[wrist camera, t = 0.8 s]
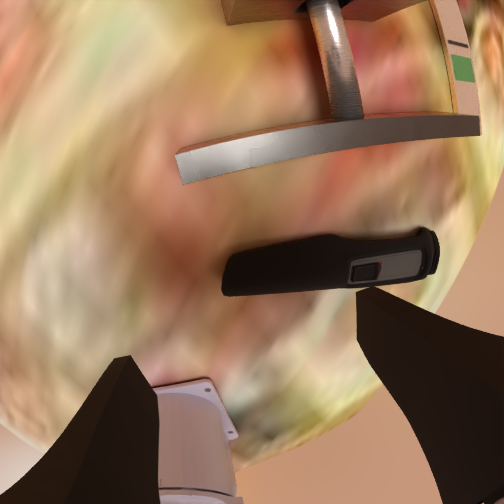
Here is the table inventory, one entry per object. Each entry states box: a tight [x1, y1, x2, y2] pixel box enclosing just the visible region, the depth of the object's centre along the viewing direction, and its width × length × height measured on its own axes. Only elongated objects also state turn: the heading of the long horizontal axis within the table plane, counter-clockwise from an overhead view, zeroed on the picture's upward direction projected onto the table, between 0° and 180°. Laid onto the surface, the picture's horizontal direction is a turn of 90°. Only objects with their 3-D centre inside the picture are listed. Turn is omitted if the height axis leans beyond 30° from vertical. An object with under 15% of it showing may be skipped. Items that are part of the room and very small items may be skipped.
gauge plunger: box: [175, 0, 480, 185], centre depth 11 cm, size 12×20×4 cm, turn 102°
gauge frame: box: [221, 0, 482, 135], centre depth 10 cm, size 15×18×6 cm
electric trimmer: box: [221, 228, 440, 297], centre depth 18 cm, size 4×16×3 cm, turn 90°
